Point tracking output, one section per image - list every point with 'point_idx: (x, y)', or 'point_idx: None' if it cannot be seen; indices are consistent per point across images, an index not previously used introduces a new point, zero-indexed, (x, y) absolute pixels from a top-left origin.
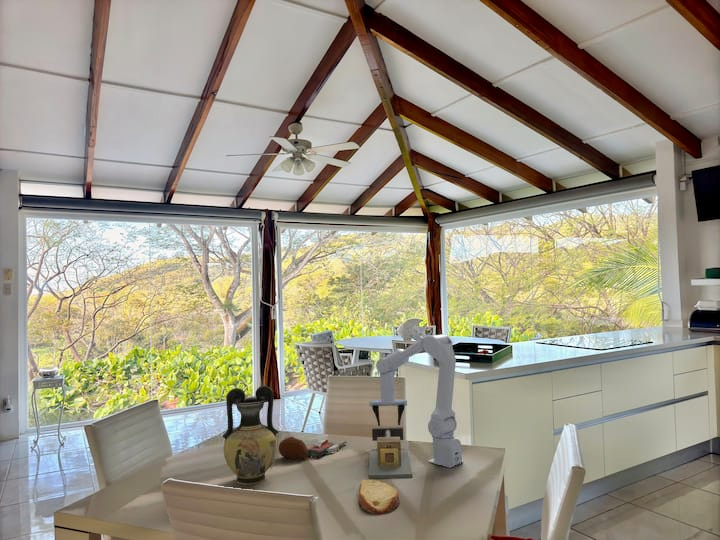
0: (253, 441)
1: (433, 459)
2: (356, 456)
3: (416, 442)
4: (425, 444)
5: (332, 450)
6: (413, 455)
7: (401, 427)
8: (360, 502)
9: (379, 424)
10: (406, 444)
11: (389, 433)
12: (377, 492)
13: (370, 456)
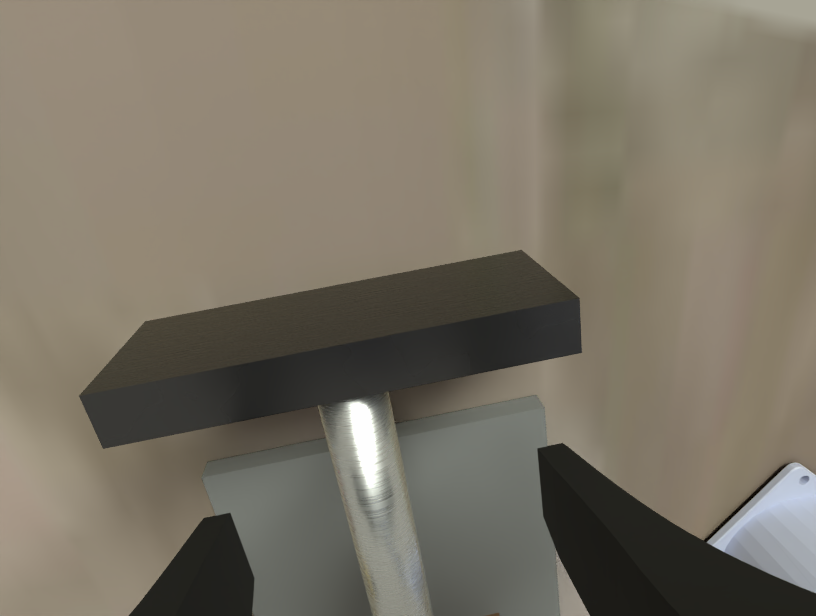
0: None
1: (722, 550)
2: (114, 542)
3: (638, 35)
4: (725, 114)
5: None
6: (585, 451)
7: (559, 314)
8: None
9: (246, 607)
10: (524, 131)
11: (399, 512)
12: None
13: (256, 600)
